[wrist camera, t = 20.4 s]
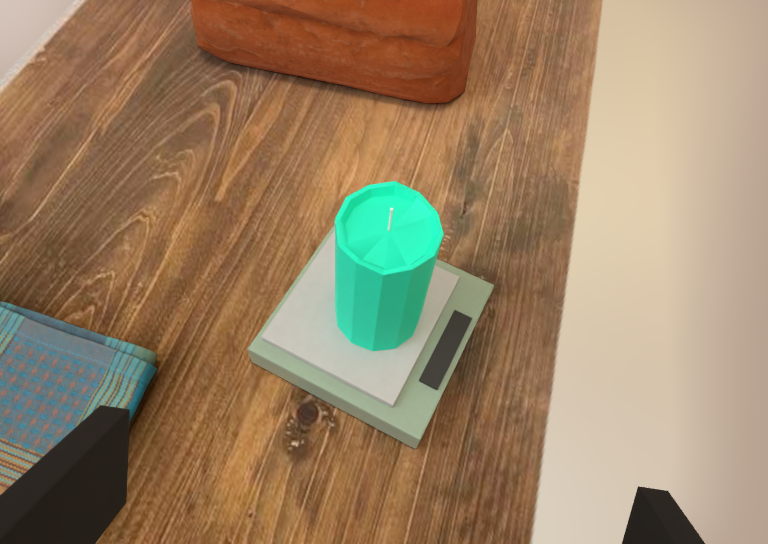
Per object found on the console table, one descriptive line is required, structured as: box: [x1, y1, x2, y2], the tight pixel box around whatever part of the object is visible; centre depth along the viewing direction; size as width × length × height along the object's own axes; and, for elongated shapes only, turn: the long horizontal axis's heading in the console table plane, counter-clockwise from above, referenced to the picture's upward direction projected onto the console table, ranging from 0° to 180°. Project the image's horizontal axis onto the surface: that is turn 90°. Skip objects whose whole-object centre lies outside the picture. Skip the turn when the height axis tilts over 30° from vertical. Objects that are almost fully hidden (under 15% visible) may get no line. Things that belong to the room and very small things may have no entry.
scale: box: [248, 224, 494, 449], centre depth 43 cm, size 13×13×3 cm
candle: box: [335, 181, 443, 351], centre depth 36 cm, size 6×6×12 cm
